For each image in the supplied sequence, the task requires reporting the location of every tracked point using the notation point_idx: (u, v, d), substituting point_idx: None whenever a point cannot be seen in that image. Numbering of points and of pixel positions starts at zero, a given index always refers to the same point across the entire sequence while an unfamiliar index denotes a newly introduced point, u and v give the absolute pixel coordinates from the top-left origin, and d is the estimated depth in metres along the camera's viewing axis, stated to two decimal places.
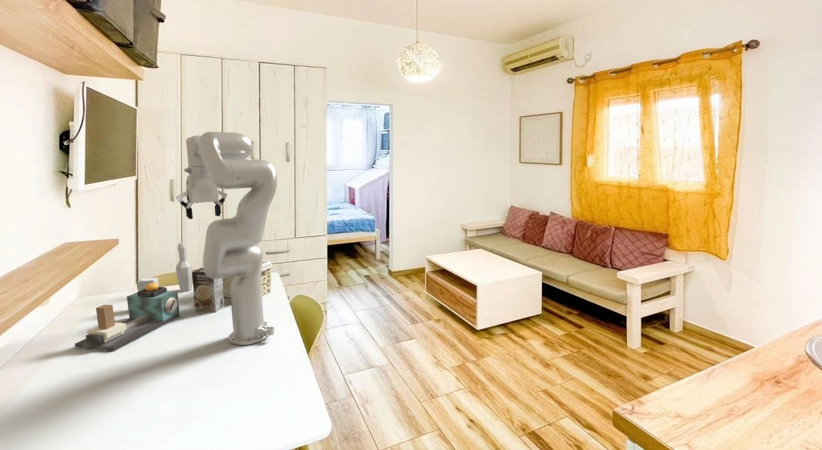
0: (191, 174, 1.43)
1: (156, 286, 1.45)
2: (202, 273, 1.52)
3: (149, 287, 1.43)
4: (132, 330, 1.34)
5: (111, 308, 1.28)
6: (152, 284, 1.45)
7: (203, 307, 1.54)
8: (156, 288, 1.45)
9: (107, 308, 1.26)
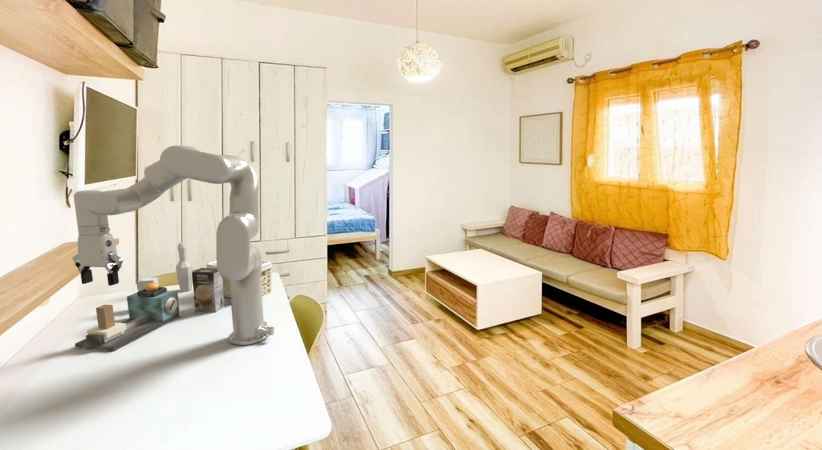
0: (107, 233, 1.24)
1: (156, 286, 1.45)
2: (202, 273, 1.52)
3: (149, 287, 1.43)
4: (132, 330, 1.34)
5: (111, 308, 1.28)
6: (152, 284, 1.45)
7: (203, 307, 1.54)
8: (156, 288, 1.45)
9: (107, 308, 1.26)
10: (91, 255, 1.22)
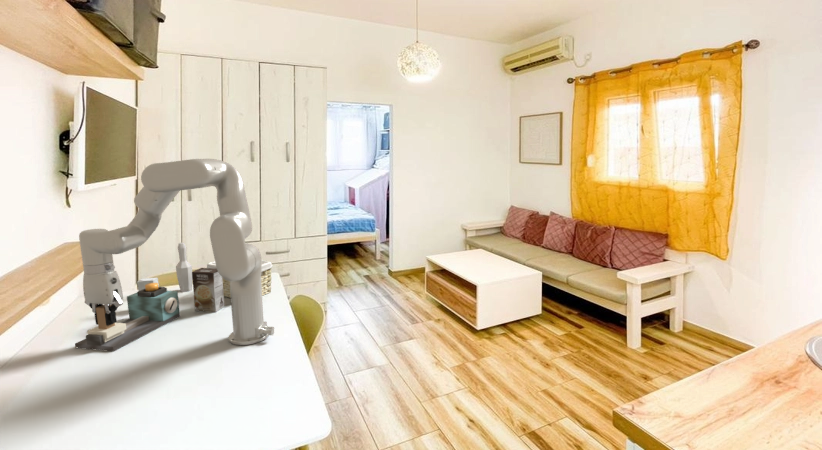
0: (112, 270, 1.26)
1: (156, 286, 1.45)
2: (202, 273, 1.52)
3: (149, 287, 1.43)
4: (132, 330, 1.34)
5: None
6: (152, 284, 1.45)
7: (203, 307, 1.54)
8: (156, 288, 1.45)
9: None
10: (96, 293, 1.23)
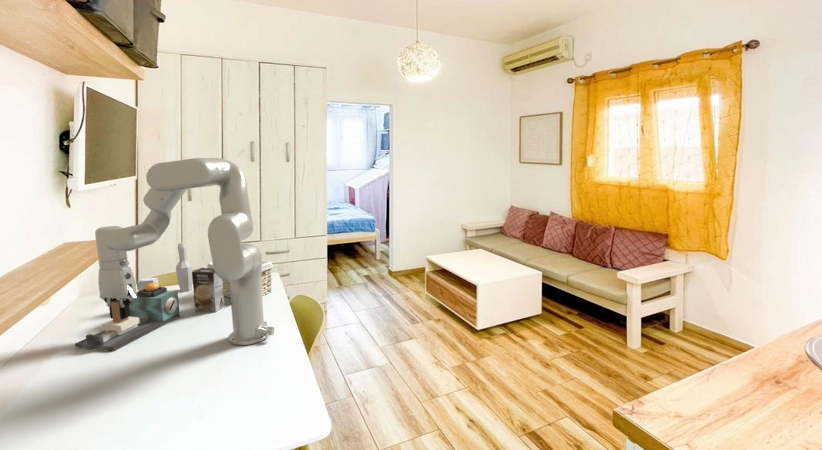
0: (126, 266, 1.31)
1: (156, 286, 1.45)
2: (202, 273, 1.52)
3: (149, 287, 1.43)
4: (132, 330, 1.34)
5: None
6: (152, 284, 1.45)
7: (203, 307, 1.54)
8: (156, 288, 1.45)
9: None
10: (111, 288, 1.28)
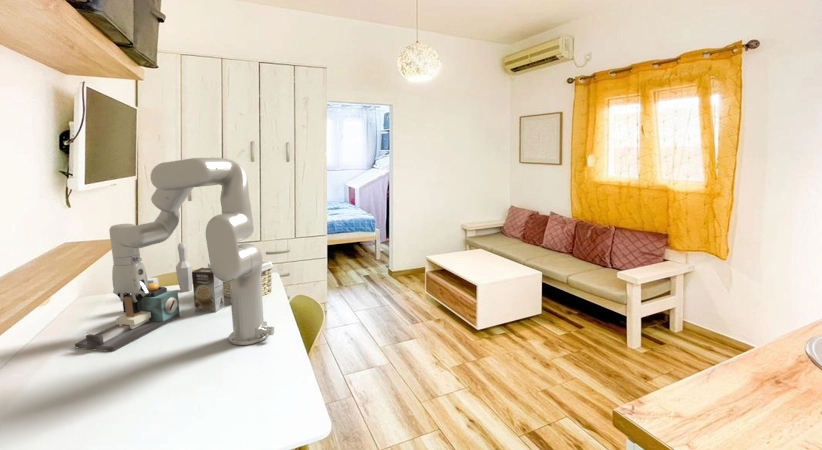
0: (139, 262, 1.35)
1: (156, 286, 1.45)
2: (202, 273, 1.52)
3: (149, 287, 1.43)
4: (132, 330, 1.34)
5: None
6: (152, 284, 1.45)
7: (203, 307, 1.54)
8: (156, 288, 1.45)
9: None
10: (125, 283, 1.33)
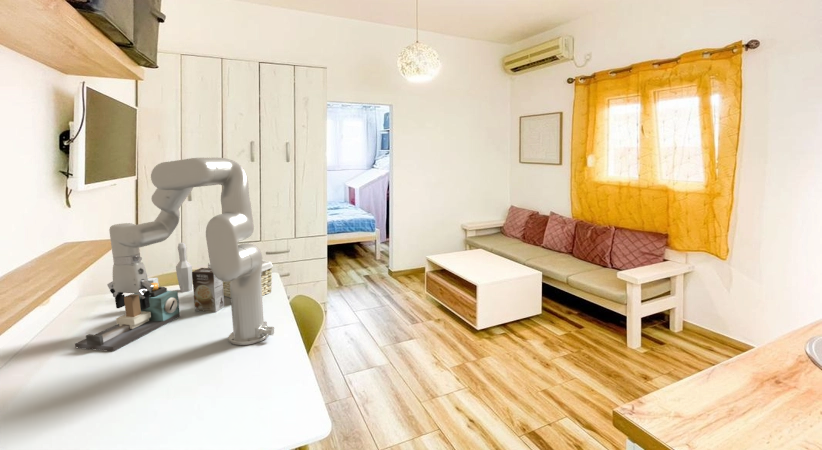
0: (139, 262, 1.35)
1: (156, 286, 1.45)
2: (202, 273, 1.52)
3: None
4: (132, 330, 1.34)
5: (137, 297, 1.38)
6: (152, 284, 1.45)
7: (203, 307, 1.54)
8: (156, 288, 1.45)
9: (134, 297, 1.36)
10: (125, 282, 1.33)
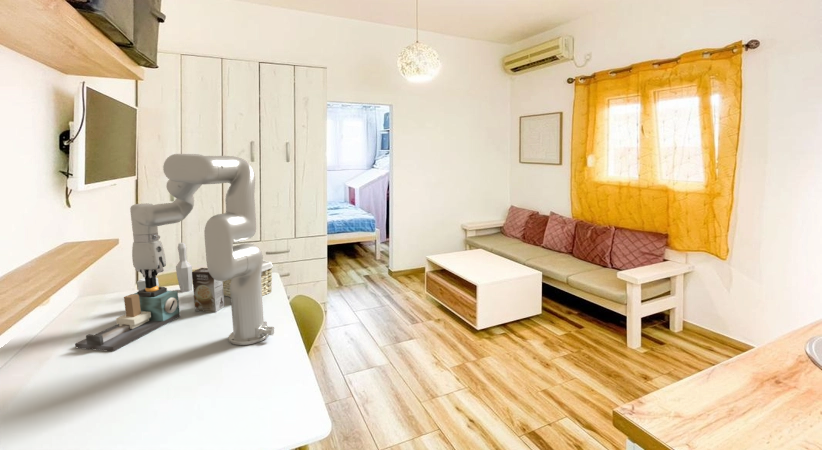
0: (157, 240, 1.43)
1: (156, 289, 1.45)
2: (202, 273, 1.52)
3: (149, 290, 1.43)
4: (132, 330, 1.34)
5: (137, 297, 1.38)
6: None
7: (203, 307, 1.54)
8: None
9: (134, 297, 1.36)
10: (144, 259, 1.41)
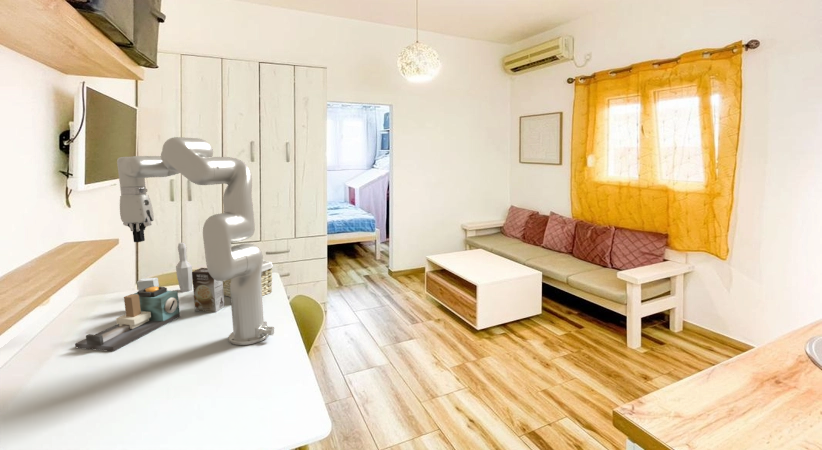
0: (145, 194, 1.43)
1: None
2: (202, 273, 1.52)
3: (149, 291, 1.43)
4: (132, 330, 1.34)
5: (137, 297, 1.38)
6: (152, 288, 1.45)
7: (203, 307, 1.54)
8: None
9: (134, 297, 1.36)
10: (132, 212, 1.41)
